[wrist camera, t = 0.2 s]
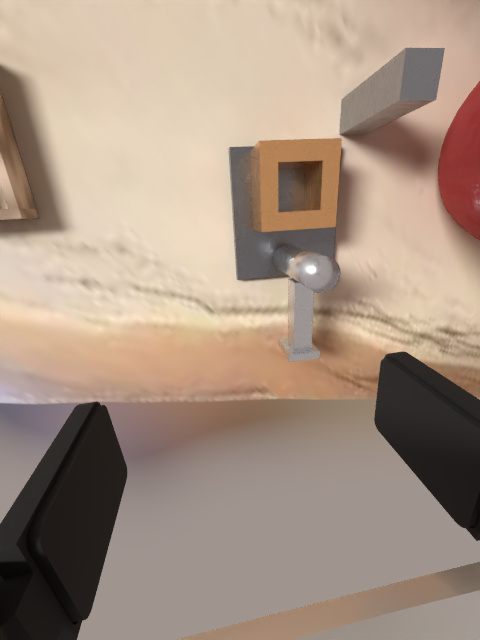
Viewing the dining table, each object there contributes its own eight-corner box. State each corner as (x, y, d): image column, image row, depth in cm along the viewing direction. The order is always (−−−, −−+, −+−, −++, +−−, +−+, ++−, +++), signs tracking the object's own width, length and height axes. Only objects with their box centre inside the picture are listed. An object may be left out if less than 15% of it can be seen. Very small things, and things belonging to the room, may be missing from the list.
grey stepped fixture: (228, 149, 33) (246, 111, 21) (337, 145, 35) (411, 108, 23) (240, 337, 42) (257, 385, 30) (325, 327, 44) (374, 369, 32)
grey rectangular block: (341, 99, 33) (406, 47, 23) (369, 99, 33) (444, 48, 23) (339, 134, 34) (399, 100, 24) (366, 133, 35) (435, 99, 25)
